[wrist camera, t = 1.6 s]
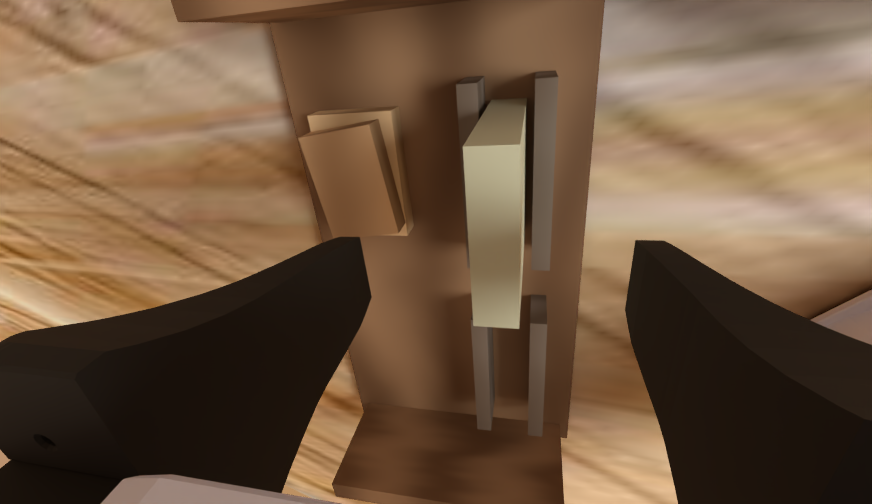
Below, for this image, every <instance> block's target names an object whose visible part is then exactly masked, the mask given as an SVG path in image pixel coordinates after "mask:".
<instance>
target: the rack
mask: <svg viewBox="0 0 872 504" xmlns="http://www.w3.org/2000/svg"><path fill="white" fill-rule="evenodd" d="M171 2H172V5H173V8H174V11H175V14H176V17H177V20H178V22H246V23H269V24H270V28H271V32H272V36H273V40H274V44H275V48H276V53H277V57H278V61H279V65H280V69H281V73H282V77H283V81H284V85H285V90H286V94H287V98H288V102H289V106H290V110H291V114H292V118H293V122H294V127H295V131H296V135H297V139H298V138H299V137H302V136H304V135H306V134H308V133H310V132H311V131H310V126H309V122H308V117H307V116H308V115H310V114H313V113H315V112H318V111H327V110H344V109H360V108H376V107H392V106H399V112H400V120H401V128H402V136H403V144H404V152H405V160H406V168H407V176H408V184H409V192H410V199H411V207H412V215H413V223H414V226H413V228H412V229H411V231H410V233H409V234H408V236H384V235H376V236H367V237H360V240H361V245H362V250H363V255H364V260H365V266H366V271H367V276H368V281H369V286H370V291H371V296H372V298H371V301H370V303H369V306H368V309H367V312H366V314H365V317H364V319H363V322H362V324H361V326H360V328H359V330H358V332H357V334H356V336H355V337H354V339H353V341H352V343H351V345H350V346H349V353H350V357H351V361H352V365H353V369H354V373H355V377H356V381H357V385H358V390H359V394H360V398H361V402H362V406H363V410H364V413H363V416H362V418H361V420H360V422H359V425H358V427H357V429H356V431H355V433H354V436H353V438H352V440H351V442H350V445H349V447H348V449H347V451H346V454H345V456H344V458H343V460H342V463H341V465H340V467H339V469H338V471H337V474H336V476H335V478H334V480H333V483H332V486H333V489H334V492H335V495H336V496H337V497H343V498H349V499H354V500H360V501H366V502H372V503H378V504H564V494H563V476H562V458H561V439H560V437H562V438H567V430H568V419H569V407H570V395H571V384H572V372H573V361H574V349H575V338H576V326H577V314H578V303H579V291H580V280H581V268H582V257H583V245H584V233H585V222H586V210H587V199H588V187H589V176H590V164H591V152H592V141H593V129H594V118H595V106H596V94H597V83H598V71H599V60H600V48H601V37H602V25H603V13H604V2H605V0H171ZM512 98H527V133H526V213H525V240H524V256H523V273H522V289H521V306H520V322H519V329H513V328H497V327H481V326H473V311H472V294H471V277H470V260H469V244H468V227H467V210H466V193H465V176H464V159H463V145H464V144H465V142H466V140H467V139H468V137H469V136H470V134H471V132H472V131H473V129H474V127H475V126H476V124H477V123H478V121H479V119H480V118H481V116H482V114H483V113H484V111H485V110H486V108H487V106H488V105H489V103H490V101H491V100H496V99H512ZM298 143H299V147H300V151H301V155H302V159H303V164H304V168H305V172H306V176H307V180H308V184H309V188H310V192H311V196H312V201H313V205H314V209H315V213H316V217H317V221H318V225H319V229H320V233H321V237H322V242H323V243H324V242H326V241H328V240H331V239H334V238H333V236H332V233H331V230H330V227H329V224H328V221H327V219H326V216H325V213H324V210H323V207H322V204H321V202H320V199H319V196H318V193H317V190H316V187H315V185H314V182H313V179H312V176H311V173H310V170H309V168H308V165H307V162H306V159H305V156H304V153H303V151H302V148H301V145H300V142H299V139H298Z"/></svg>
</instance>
